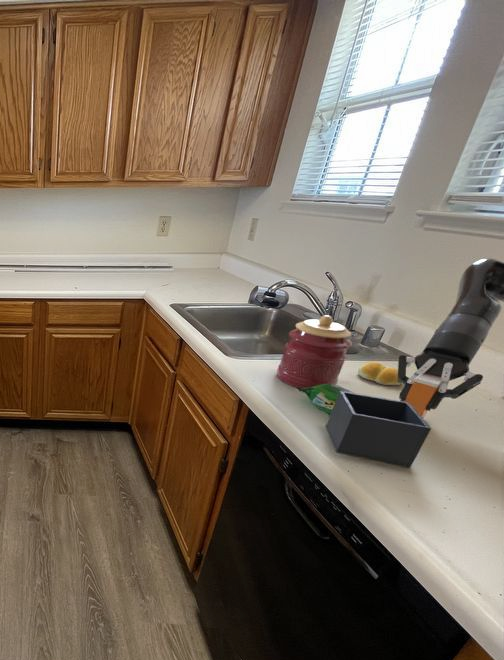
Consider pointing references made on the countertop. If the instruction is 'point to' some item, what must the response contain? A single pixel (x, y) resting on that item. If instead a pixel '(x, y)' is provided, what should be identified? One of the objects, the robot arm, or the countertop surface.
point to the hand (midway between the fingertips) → (415, 404)
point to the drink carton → (423, 392)
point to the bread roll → (379, 373)
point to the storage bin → (376, 428)
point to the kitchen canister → (314, 353)
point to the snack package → (324, 395)
